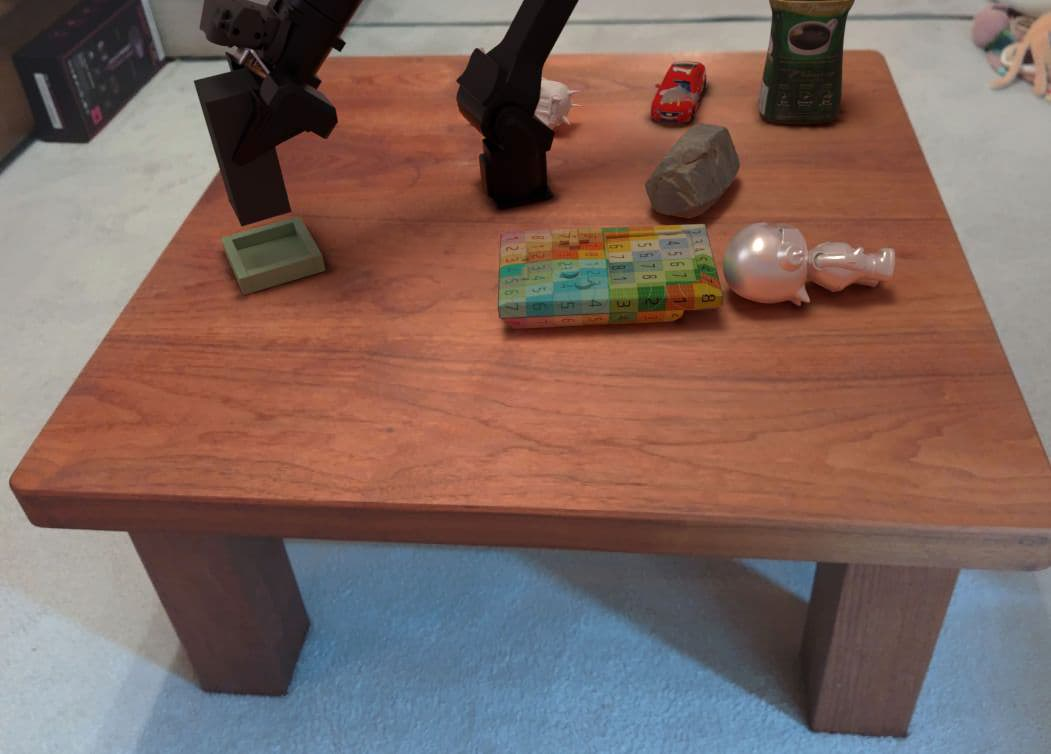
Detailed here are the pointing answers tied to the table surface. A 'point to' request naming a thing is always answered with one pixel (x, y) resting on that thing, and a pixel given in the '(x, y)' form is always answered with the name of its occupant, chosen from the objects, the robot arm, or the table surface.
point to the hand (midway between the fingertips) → (229, 151)
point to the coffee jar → (804, 61)
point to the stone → (694, 172)
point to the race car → (679, 92)
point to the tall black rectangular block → (226, 115)
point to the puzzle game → (605, 275)
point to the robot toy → (553, 102)
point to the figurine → (796, 264)
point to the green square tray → (272, 254)
